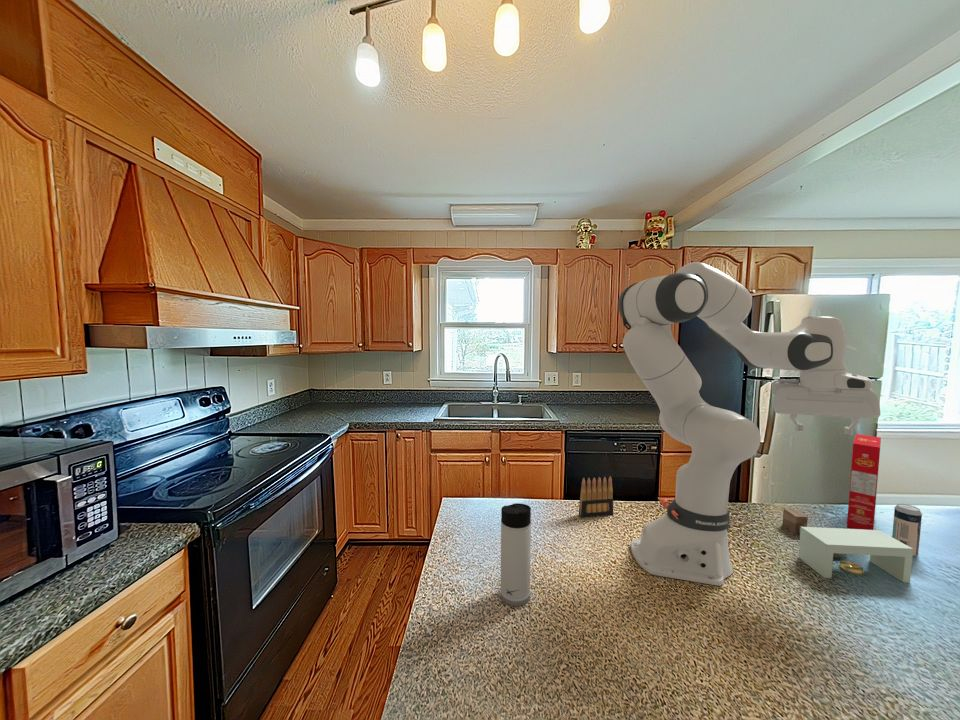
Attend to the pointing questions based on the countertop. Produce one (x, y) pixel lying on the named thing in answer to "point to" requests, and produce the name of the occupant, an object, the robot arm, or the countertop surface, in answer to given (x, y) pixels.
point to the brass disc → (851, 567)
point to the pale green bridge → (854, 549)
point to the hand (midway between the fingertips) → (823, 432)
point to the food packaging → (863, 482)
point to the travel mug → (515, 554)
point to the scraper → (798, 523)
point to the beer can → (907, 526)
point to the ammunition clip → (596, 498)
